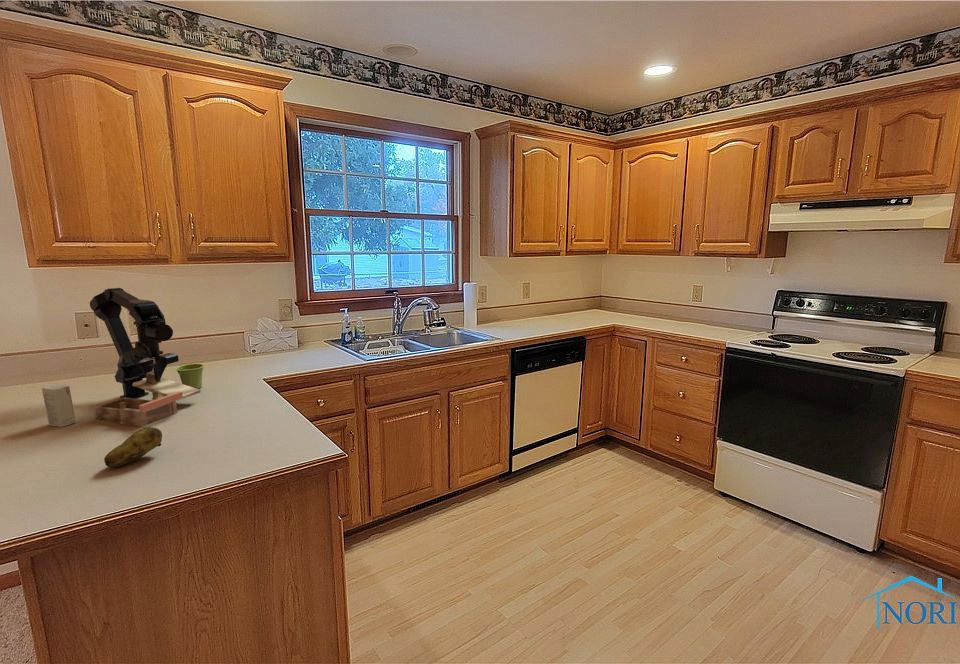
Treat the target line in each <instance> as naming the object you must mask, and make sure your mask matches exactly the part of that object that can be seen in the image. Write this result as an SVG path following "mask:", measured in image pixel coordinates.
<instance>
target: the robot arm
mask: <svg viewBox="0 0 960 664" xmlns="http://www.w3.org/2000/svg"><path fill="white" fill-rule="evenodd" d="M89 308H90V309H91V310H92V311H93V313H94V316H96V318H98V319H100V320H102V321H103V322H104V325H105V326H106V329H107V331H108V334H109V336H110V338H111V341H112V343H113V345H114V347H115V350H116V352H117V354H118V356H119V358H118V361H117V370H116V372H115V375H114V379H115V382H116V383H120V384H122V386H121V387H122V391H123V392H122V393H123V394H122V395H120V396H119V399H121V398H125V397H126V398H135V399H138V398H139V397H142V396H146V395H149V394H150V391H146V390H144V389H141V388H138V387H135V386H133V383H134V382H138V381H141V380H144V379H146V373H148V372H151V371H154V375H155V379H156V382H159V381H160V379H161V377H162V376H163V374H164V372H165V370H166V367H167V366H168V365H170V364H173V363H178V362H179V361H180V360H179V359H180V358H179V355H178V354H176V353H172V352H171V353H170V352H169V353H164V351H163V350H160V343H162V342H166V341H169V340H171V338H172V337H173V333H174V330H173V328H172V327H171V326H170V325H169V324H167V323H166V319H165V315H164V313H163V312H162V310H161V309H160V308H159V306H158V304H157V303H156V302H155V301H153V300H149V299H140V298H138V297H136V296H135V295H132V294H131V293H129V292H127V291H125V289H123V288H122V287H121V288H120V287H114V288H107V289H106V288H105V290H104V291H102V292H101V293H99V294H97V295H95V296H93V297H92V298H91V300H90V301H89ZM123 308H124V309H126V310H127V311H128V315H130V317H132V318H133V320H134V321H133V325H135V326H136V332H137V341H135V343H134V346H133V345H132V342H131V339H130V338H129V335H128V333H127V330H126V328H125V326H124V323H123V321H122V319H121V317H120V316H121V313H122V310H123ZM162 378H163V377H162Z"/></svg>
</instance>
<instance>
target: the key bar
mask: <svg viewBox="0 0 960 664" xmlns="http://www.w3.org/2000/svg"><path fill="white" fill-rule="evenodd" d="M181 398H183V396H182V392H176V393H173V394H170V395H167V396H162V398H159V399H156V400H153V401H150V402H147V403H145V404H142V405H139V412H145V411H148V410H151V409H154V408H156V407H159V406H162V405H164V404H167V403H170V402H173V401H175V400H176V401H177V400H178V399H181ZM181 400H182V399H181Z"/></svg>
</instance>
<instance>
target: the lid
mask: <svg viewBox="0 0 960 664" xmlns="http://www.w3.org/2000/svg"><path fill="white" fill-rule="evenodd" d="M133 386H135V387H138V388H141V389H144V390H145V391H146V392H149V393H150V392H151V393H152V392H154V391H158V396H159V395H160V396H162V397H165V396H167V395H170V394H173V393H176V392H182V396H183V398H181V399H178V400H176V402H177V401H181V400H184V399H187V398H189V397H192V396H195V395H197V394H200V393H201V389H200V388H199V389H196V388H193V387H190V386H187V385H184V384H182V382H177V381H173V380H171V379H168V378H165V377H161V379H160V381H159V382H156V379H155V375H154V371H151V372H148V373H146V378H143V380H141V381H138V382H134V383H133Z"/></svg>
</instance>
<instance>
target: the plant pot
mask: <svg viewBox="0 0 960 664" xmlns="http://www.w3.org/2000/svg"><path fill="white" fill-rule="evenodd" d="M204 367H205V365H204V364H203V363H190V364H183V365H180V366H177V367H176V368H175V370H176V371H177V373H178V375H179V378H180V380H181V381H180V383H181V384H184V385H187V386H190V387H193V388H196V389H199V390H200V388H202V387H203V372H204V371H203V370H204Z"/></svg>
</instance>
